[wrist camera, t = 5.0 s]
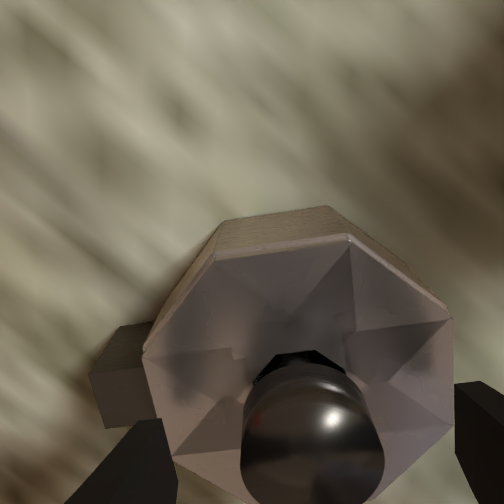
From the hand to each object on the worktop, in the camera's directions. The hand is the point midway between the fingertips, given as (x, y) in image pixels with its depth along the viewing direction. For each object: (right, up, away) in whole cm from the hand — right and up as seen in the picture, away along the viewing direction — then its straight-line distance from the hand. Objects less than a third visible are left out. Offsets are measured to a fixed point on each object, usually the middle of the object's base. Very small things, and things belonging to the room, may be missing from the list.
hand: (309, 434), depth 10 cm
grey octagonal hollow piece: (0, +2, +5) cm, 6 cm away
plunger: (0, +2, +5) cm, 5 cm away
